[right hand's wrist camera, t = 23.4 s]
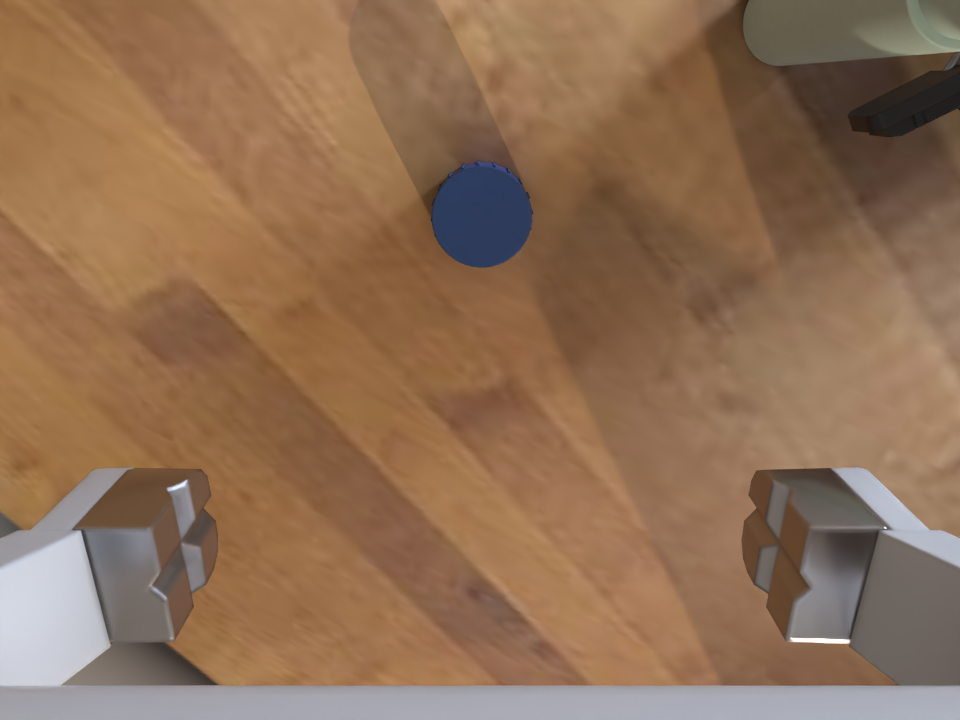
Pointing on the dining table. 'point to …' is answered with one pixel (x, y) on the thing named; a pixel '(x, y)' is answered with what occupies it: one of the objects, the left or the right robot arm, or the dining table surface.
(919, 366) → the dining table surface
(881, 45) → the jar
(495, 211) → the lid
